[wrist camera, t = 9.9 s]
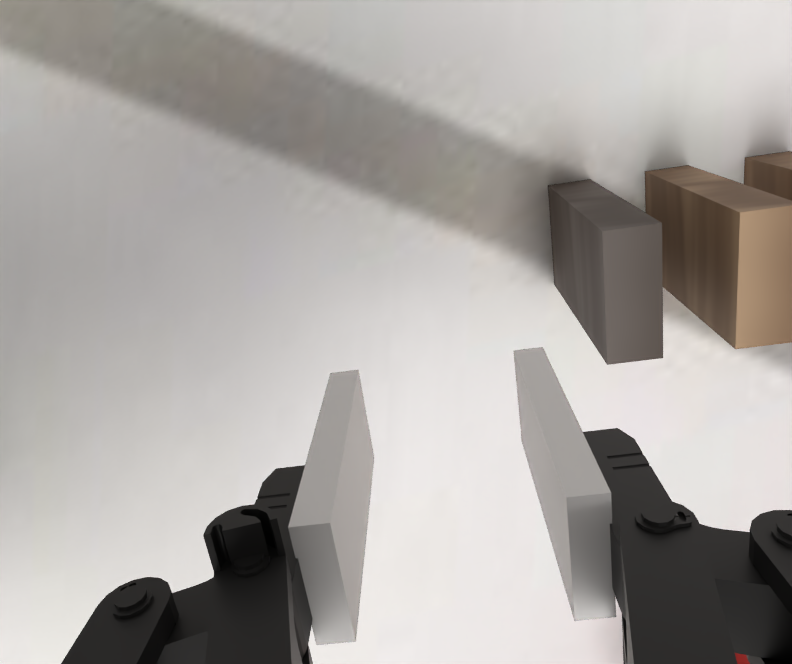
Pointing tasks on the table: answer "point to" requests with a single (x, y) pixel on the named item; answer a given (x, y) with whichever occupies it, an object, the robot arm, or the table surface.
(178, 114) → the table surface
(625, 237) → the head tile
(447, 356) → the table surface
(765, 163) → the domino
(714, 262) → the domino
